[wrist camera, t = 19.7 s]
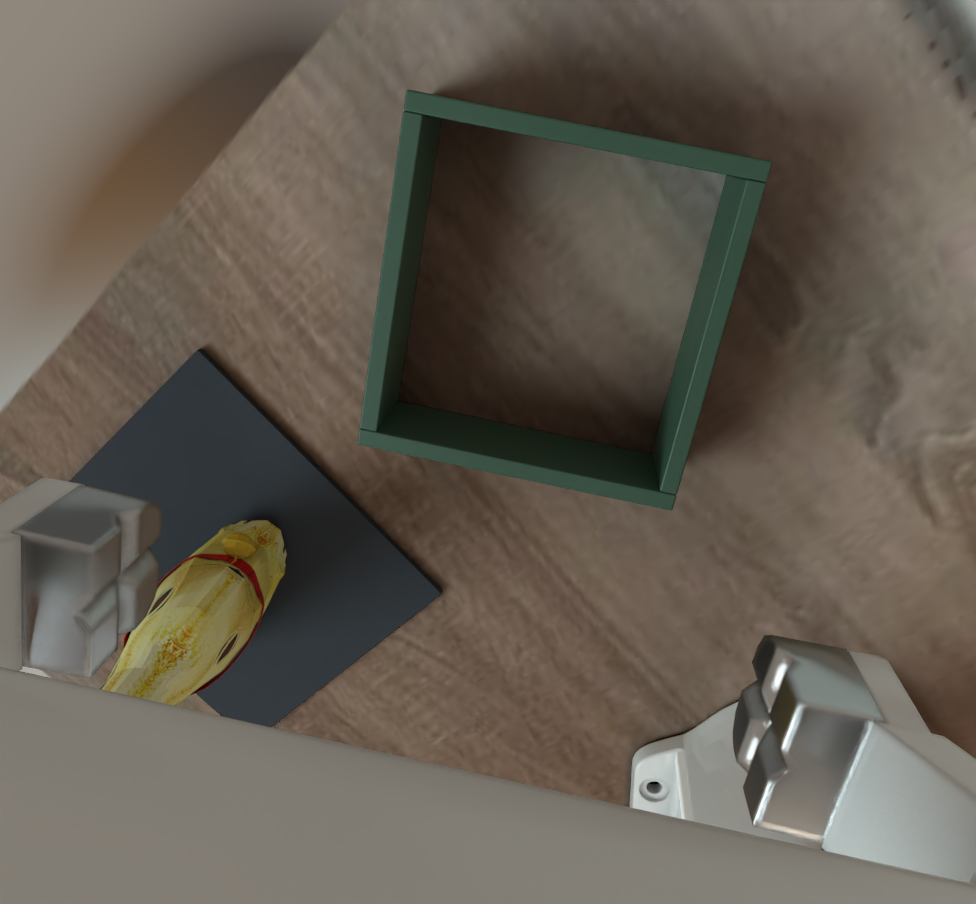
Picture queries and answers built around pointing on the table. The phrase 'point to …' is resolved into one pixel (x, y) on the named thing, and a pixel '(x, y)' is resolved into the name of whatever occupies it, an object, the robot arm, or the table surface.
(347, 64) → the table surface
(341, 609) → the mat
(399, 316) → the crate
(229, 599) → the chocolate bunny
